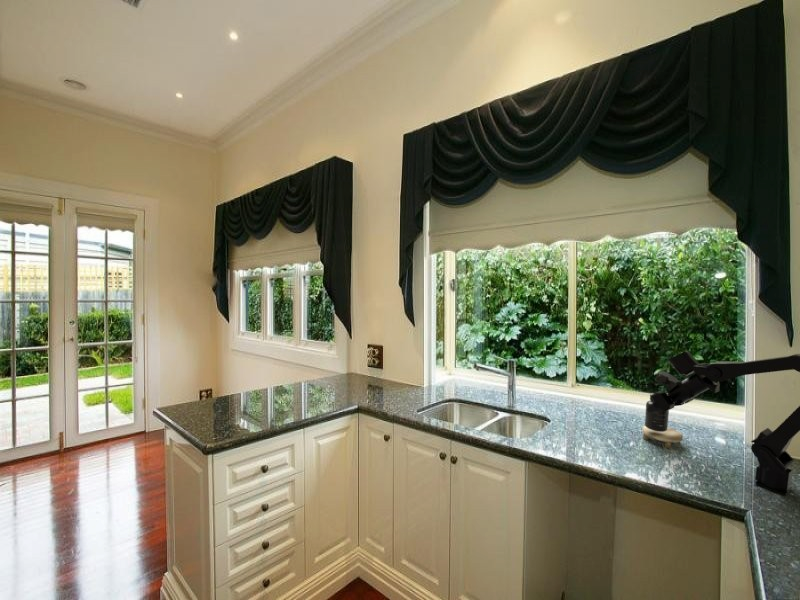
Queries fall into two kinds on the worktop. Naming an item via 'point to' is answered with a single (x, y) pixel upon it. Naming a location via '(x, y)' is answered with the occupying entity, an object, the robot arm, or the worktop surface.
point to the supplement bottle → (656, 418)
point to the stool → (663, 436)
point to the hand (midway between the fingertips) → (653, 408)
